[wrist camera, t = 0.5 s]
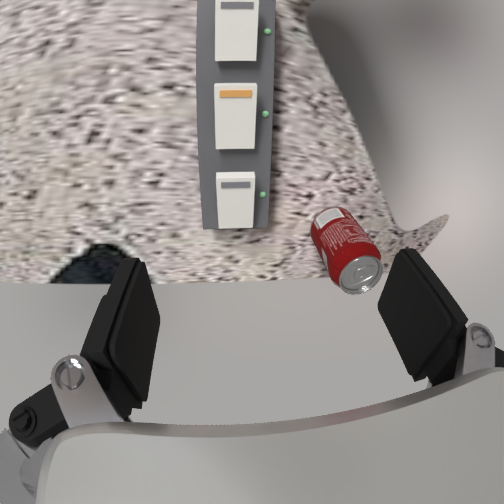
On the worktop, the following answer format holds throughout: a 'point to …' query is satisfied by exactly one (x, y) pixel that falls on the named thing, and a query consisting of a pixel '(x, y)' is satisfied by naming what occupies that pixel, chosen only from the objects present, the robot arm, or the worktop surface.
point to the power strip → (205, 80)
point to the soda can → (346, 251)
